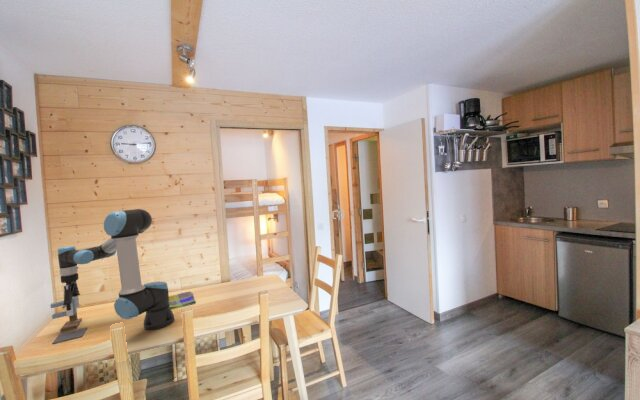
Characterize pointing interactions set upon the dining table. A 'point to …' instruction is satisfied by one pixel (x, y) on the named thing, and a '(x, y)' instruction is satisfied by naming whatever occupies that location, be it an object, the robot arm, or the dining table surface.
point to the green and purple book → (181, 300)
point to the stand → (71, 322)
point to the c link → (64, 311)
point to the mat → (69, 335)
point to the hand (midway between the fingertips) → (73, 311)
